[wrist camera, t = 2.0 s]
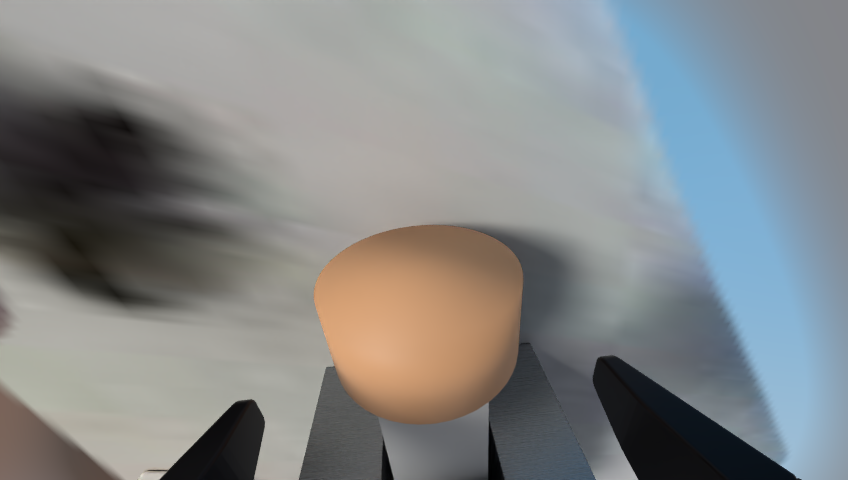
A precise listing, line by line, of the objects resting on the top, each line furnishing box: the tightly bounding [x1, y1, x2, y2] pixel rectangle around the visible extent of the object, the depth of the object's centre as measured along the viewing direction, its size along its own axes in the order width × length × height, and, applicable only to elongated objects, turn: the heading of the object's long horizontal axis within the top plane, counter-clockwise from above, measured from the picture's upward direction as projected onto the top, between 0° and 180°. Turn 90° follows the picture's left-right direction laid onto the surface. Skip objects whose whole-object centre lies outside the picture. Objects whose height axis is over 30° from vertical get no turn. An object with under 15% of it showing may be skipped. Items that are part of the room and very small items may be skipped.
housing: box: [299, 343, 596, 480], centre depth 17 cm, size 10×12×8 cm
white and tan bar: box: [314, 225, 523, 480], centre depth 14 cm, size 14×7×7 cm, turn 5°
